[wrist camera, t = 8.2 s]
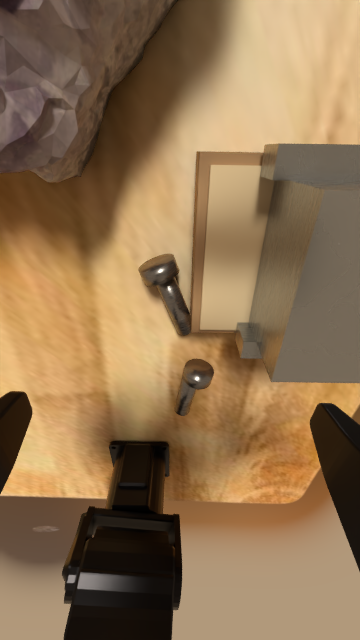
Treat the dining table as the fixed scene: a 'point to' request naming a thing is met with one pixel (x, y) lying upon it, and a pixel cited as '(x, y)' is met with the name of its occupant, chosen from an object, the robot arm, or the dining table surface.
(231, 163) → the stand
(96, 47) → the geode
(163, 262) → the bolt
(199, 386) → the bolt
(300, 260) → the block
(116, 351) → the dining table surface
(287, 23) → the dining table surface
